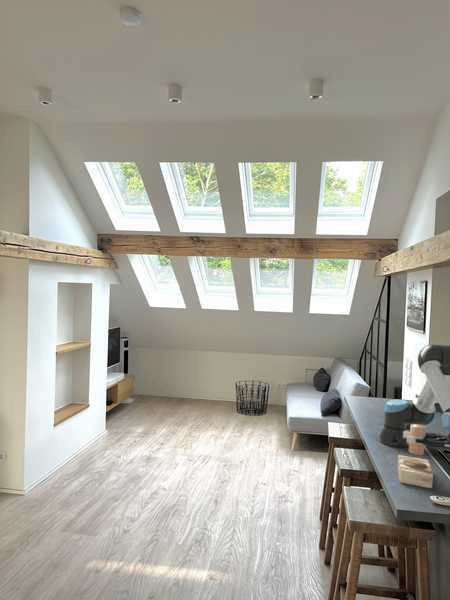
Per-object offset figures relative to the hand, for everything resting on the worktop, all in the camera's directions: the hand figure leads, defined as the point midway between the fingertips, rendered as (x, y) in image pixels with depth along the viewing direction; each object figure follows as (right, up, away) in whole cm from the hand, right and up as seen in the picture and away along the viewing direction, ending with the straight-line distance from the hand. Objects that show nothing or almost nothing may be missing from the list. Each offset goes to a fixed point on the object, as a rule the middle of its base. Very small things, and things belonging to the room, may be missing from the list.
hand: (405, 436), depth 210 cm
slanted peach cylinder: (+5, -7, 0) cm, 8 cm away
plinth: (+4, -18, 0) cm, 18 cm away
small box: (+31, -18, +83) cm, 90 cm away
